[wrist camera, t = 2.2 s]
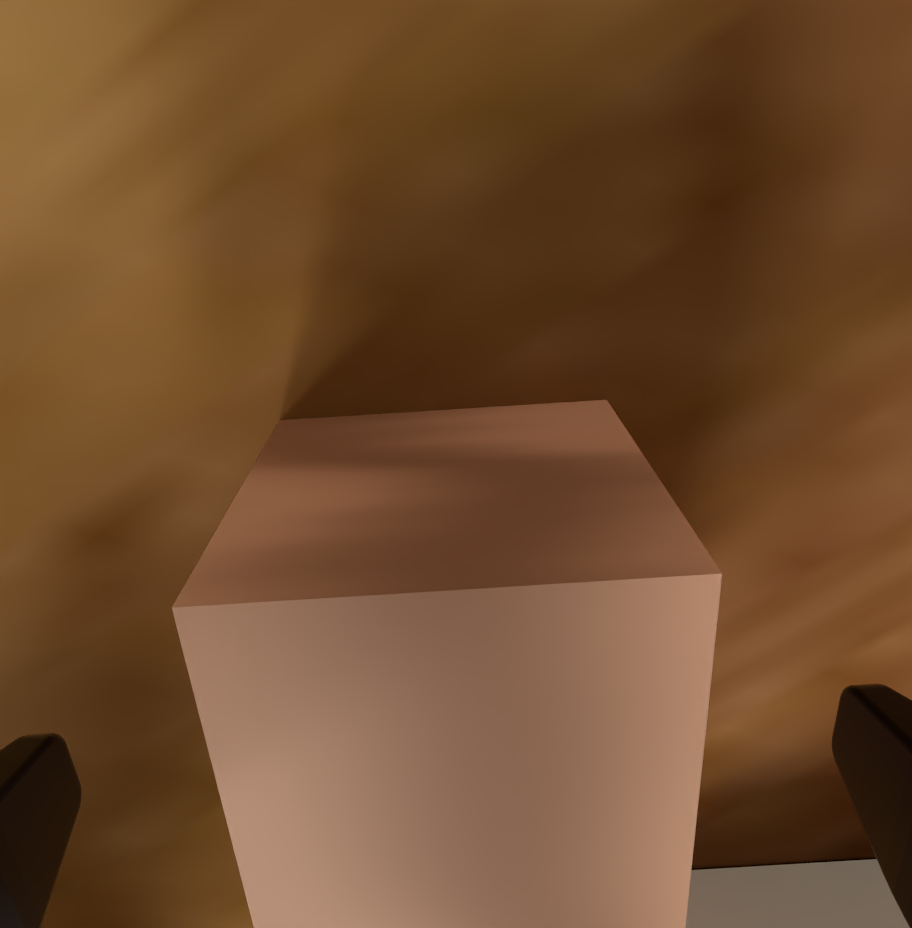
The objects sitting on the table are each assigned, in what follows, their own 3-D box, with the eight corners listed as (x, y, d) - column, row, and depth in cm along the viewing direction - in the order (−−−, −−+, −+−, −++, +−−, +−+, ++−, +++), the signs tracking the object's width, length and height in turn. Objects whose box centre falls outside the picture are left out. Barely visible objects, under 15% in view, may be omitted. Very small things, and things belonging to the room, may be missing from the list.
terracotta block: (323, 677, 13) (261, 959, 9) (280, 419, 11) (171, 607, 7) (598, 660, 13) (684, 934, 9) (605, 397, 11) (722, 574, 7)
